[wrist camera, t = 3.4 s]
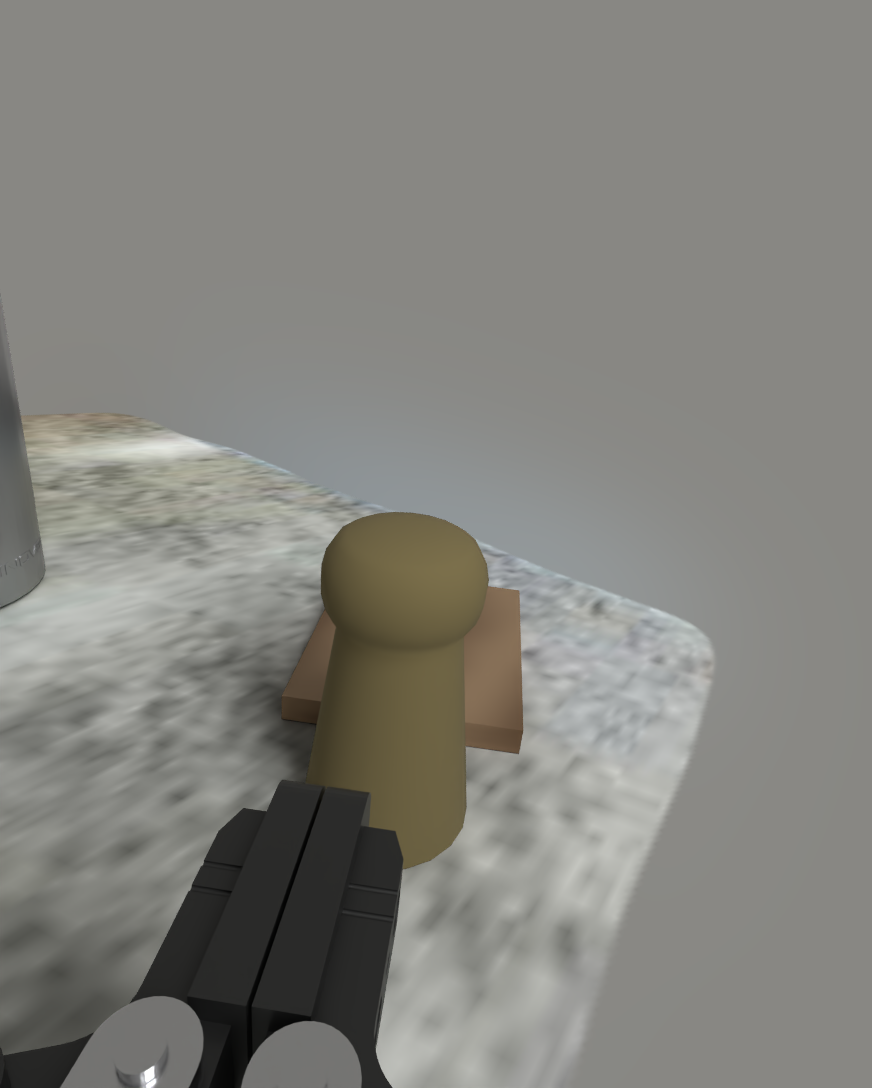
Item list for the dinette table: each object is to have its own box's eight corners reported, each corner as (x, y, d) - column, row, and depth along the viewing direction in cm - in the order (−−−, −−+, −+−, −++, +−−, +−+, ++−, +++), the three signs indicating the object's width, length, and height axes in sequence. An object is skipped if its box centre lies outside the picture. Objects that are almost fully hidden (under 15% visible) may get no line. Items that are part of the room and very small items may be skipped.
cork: (468, 877, 22) (517, 585, 18) (284, 862, 22) (286, 563, 17) (464, 750, 28) (501, 501, 23) (318, 736, 28) (325, 484, 23)
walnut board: (281, 718, 28) (281, 695, 28) (344, 585, 39) (345, 567, 39) (518, 753, 28) (523, 730, 27) (516, 608, 39) (519, 590, 38)
